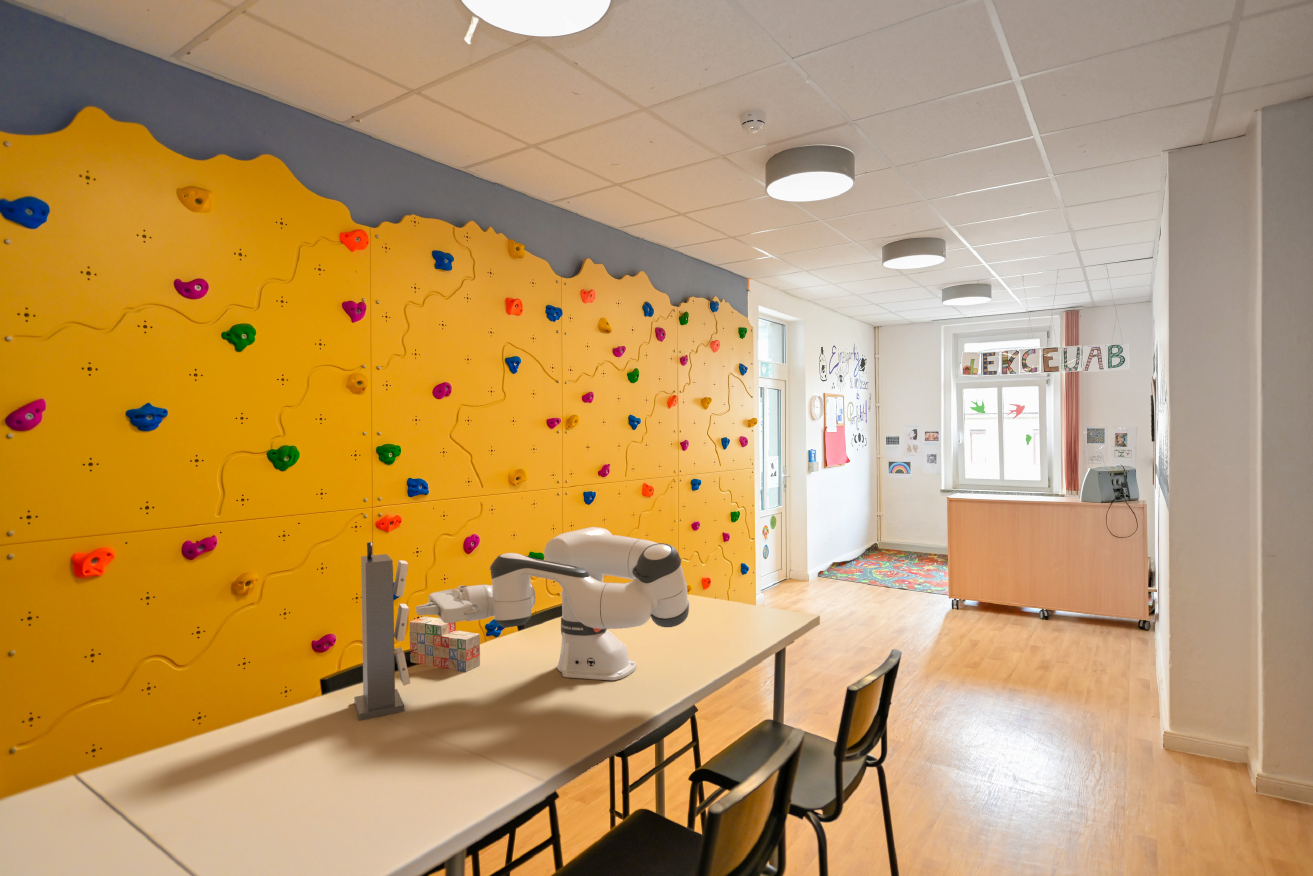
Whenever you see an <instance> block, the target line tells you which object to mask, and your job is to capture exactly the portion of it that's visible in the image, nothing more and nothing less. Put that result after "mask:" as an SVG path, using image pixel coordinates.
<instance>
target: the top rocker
mask: <svg viewBox="0 0 1313 876" xmlns="http://www.w3.org/2000/svg"><path fill="white" fill-rule="evenodd" d="M408 569H409V563H408V562H407V561H406V560H402V559H401V560H398V561H397V565H396V574H395V580H394V583H393V595H395V597H404V593H405V586H406V579H407V574H408Z"/></svg>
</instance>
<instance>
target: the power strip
mask: <svg viewBox="0 0 1313 876" xmlns="http://www.w3.org/2000/svg"><path fill="white" fill-rule="evenodd" d="M373 553H374V552H373V542H372V541H369V542H366V555H364V556H360V562H361V563H360V567H361V569H360V570H361V571H360V572H361V576H360V579H361V623H362V624H361V629H362V631H361V632H362V636H361V637H362V639H361V640H362V685H363V686H362V687H363V688H362V691H363V693H362V695H358V696H354V697H353V699H354V701H353V702H354V706H355V709H356V713H357V717H358V721H363V720H368V719H373V718H377V717H382V716H388V715H393V714H397V713H402V712H405V710H406V709H405V703H404V701H403V698H402V697H401V695H400V692H399V691H398V689H397V688H396V675H395V674H396V673H395V670H396V669H395V662H396V660H395V659H396V658H395V651H394V649H395V637H394V632H395V611H394V609H395V608H394V604H395V603H394V600H395V599H394V593H393V590H394V565H393V564H394V561H393V559H392V558H391V557H390V556H389V554H387V553H385V554H375V555H373Z"/></svg>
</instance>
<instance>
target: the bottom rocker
mask: <svg viewBox="0 0 1313 876" xmlns="http://www.w3.org/2000/svg"><path fill="white" fill-rule="evenodd" d="M394 657H395V659H396V660H395V662H396V664H397V669H398V673H399V679H400V681H401V684H402V685H403V687H405V686H407V685H410V684H411V681H410V675H409V671H408V670H409V669H408V666H407V662H406V653H405V651H403V648H402V647H401V646H400V647H397V648H394Z"/></svg>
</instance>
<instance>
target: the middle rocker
mask: <svg viewBox="0 0 1313 876" xmlns="http://www.w3.org/2000/svg"><path fill="white" fill-rule="evenodd" d="M409 610H410V607H408V605H407V604H406V603H398V608H397V613H396V620H395V621H396V622H395V625H394V640H396V642H404V641H405V635H406V629H407V622H408V617H409Z"/></svg>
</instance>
